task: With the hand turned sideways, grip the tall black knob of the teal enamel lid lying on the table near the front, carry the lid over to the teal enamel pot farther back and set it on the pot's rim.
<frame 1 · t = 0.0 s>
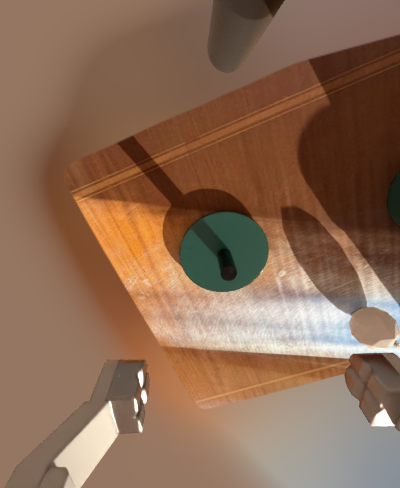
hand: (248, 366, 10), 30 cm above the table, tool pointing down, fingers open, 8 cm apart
ornament: (360, 314, 46), on the table
lid: (223, 253, 40), point 1 cm above the table
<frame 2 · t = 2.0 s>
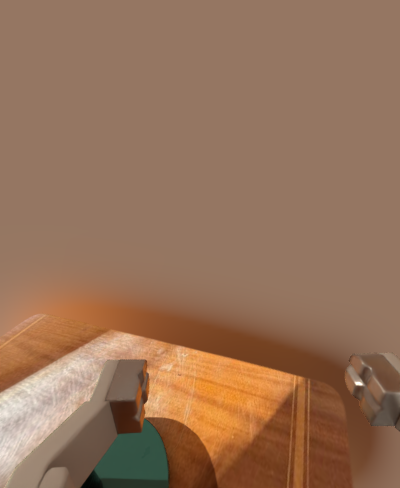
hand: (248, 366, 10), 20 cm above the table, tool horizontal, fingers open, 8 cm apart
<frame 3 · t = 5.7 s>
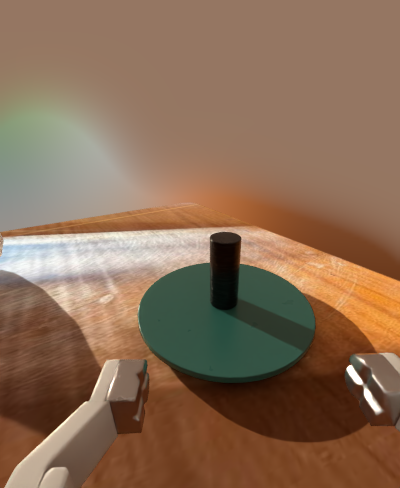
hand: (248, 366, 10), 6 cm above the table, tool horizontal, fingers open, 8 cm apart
lid: (223, 306, 21), point 1 cm above the table
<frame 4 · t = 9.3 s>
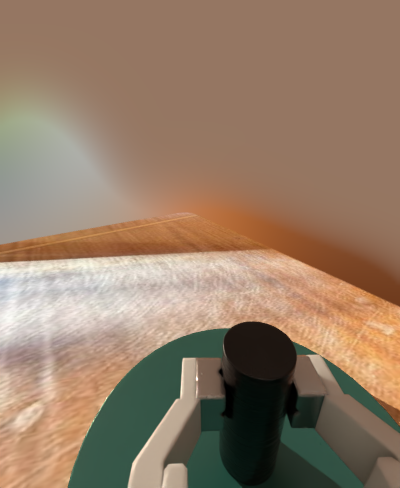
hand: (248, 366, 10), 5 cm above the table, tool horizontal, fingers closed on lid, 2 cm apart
lid: (246, 456, 11), point 1 cm above the table, touching gripper
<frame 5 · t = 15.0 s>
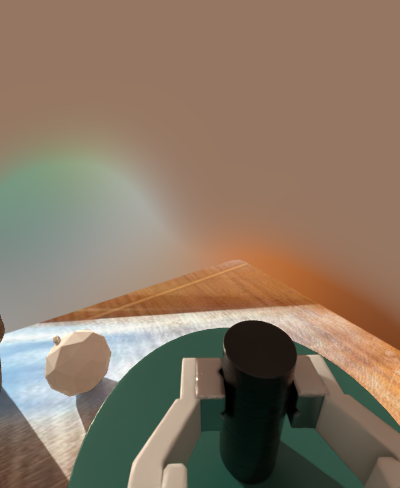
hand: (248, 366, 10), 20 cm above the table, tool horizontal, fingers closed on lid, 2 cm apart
ornament: (85, 381, 31), on the table
lid: (246, 454, 11), point 15 cm above the table, touching gripper
when the fingers open (13 cm above the table, at t = 20.9 s): lid stays where it is, resting on pot.
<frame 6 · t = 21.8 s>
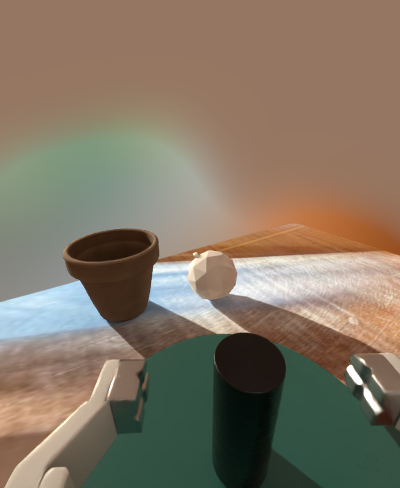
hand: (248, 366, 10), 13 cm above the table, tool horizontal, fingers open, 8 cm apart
ornament: (211, 295, 37), on the table
lid: (238, 463, 11), point 8 cm above the table, touching pot
flower pot: (123, 307, 34), on the table
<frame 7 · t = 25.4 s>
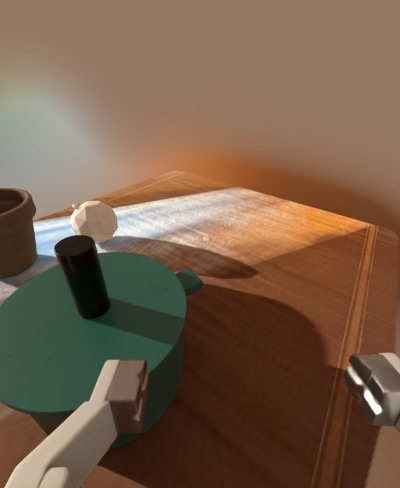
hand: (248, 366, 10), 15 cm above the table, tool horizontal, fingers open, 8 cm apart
ornament: (99, 240, 43), on the table
lid: (95, 311, 19), point 8 cm above the table, touching pot
flower pot: (12, 264, 36), on the table
pot: (115, 366, 24), on the table
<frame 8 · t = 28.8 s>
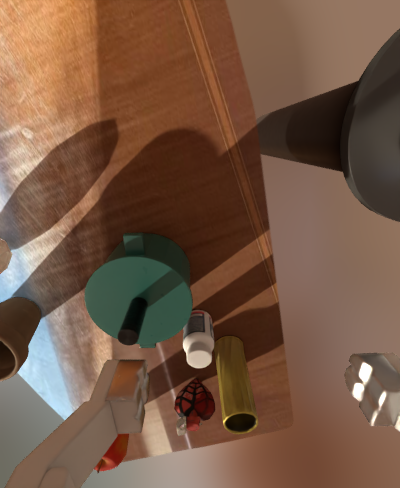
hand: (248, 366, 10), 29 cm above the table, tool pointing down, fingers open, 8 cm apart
apple: (117, 406, 55), on the table
grenade: (194, 380, 52), on the table
lid: (139, 302, 33), point 8 cm above the table, touching pot
flower pot: (23, 310, 44), on the table
pill bottle: (198, 319, 46), on the table
pot: (150, 270, 41), on the table
vase: (228, 345, 48), on the table
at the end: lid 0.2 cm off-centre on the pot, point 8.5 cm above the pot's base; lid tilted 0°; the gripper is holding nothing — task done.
